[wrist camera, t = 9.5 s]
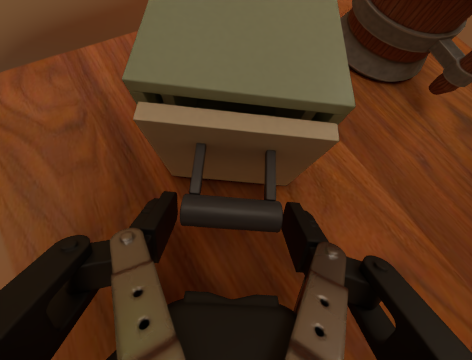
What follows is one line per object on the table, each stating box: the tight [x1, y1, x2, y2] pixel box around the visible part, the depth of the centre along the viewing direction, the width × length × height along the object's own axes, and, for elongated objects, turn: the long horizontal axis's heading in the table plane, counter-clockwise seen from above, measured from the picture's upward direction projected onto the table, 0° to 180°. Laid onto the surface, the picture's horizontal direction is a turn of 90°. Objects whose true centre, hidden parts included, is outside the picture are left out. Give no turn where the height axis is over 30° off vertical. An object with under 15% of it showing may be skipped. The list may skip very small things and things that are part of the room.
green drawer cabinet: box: [122, 0, 355, 125], centre depth 17 cm, size 15×13×11 cm
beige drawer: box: [133, 94, 339, 233], centre depth 16 cm, size 19×11×9 cm, turn 176°
